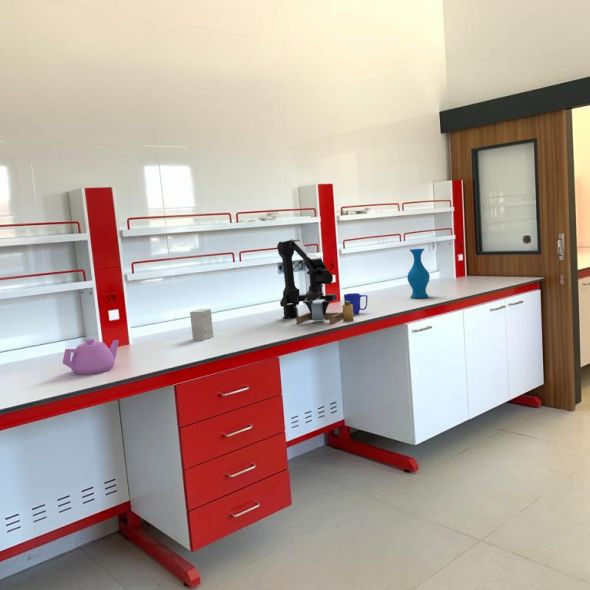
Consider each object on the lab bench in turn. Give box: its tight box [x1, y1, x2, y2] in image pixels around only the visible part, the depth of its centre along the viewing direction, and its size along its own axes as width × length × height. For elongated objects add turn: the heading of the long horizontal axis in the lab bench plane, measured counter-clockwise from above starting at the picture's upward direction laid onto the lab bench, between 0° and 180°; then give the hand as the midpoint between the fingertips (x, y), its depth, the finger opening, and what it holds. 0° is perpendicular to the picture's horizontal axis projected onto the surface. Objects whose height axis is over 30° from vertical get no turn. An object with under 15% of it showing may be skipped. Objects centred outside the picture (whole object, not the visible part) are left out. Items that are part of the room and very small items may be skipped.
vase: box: [407, 248, 431, 299], centre depth 352 cm, size 12×13×28 cm
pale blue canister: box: [311, 301, 326, 321], centre depth 298 cm, size 6×9×8 cm
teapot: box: [62, 338, 120, 376], centre depth 227 cm, size 22×16×12 cm
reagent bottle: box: [341, 300, 355, 322], centre depth 294 cm, size 5×5×9 cm
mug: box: [343, 292, 368, 315], centre depth 313 cm, size 8×12×10 cm
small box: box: [189, 308, 214, 341], centre depth 276 cm, size 8×6×13 cm
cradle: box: [295, 311, 343, 325], centre depth 299 cm, size 19×14×3 cm
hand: (318, 315), depth 297 cm, fingers closed on pale blue canister, 6 cm apart
